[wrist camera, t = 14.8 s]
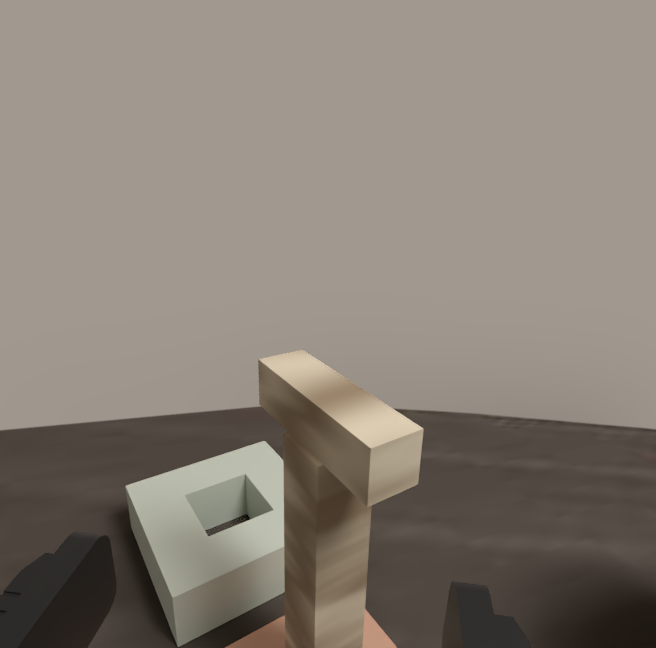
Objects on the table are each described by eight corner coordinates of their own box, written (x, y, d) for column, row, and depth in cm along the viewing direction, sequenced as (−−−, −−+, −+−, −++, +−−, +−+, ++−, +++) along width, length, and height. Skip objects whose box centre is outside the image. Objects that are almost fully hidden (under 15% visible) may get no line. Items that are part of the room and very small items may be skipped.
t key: (261, 636, 30) (253, 360, 24) (304, 613, 32) (306, 348, 26) (346, 787, 23) (364, 450, 17) (395, 747, 25) (428, 426, 19)
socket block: (131, 527, 39) (125, 485, 38) (265, 477, 46) (264, 440, 44) (177, 647, 30) (172, 597, 29) (338, 564, 36) (340, 520, 35)
